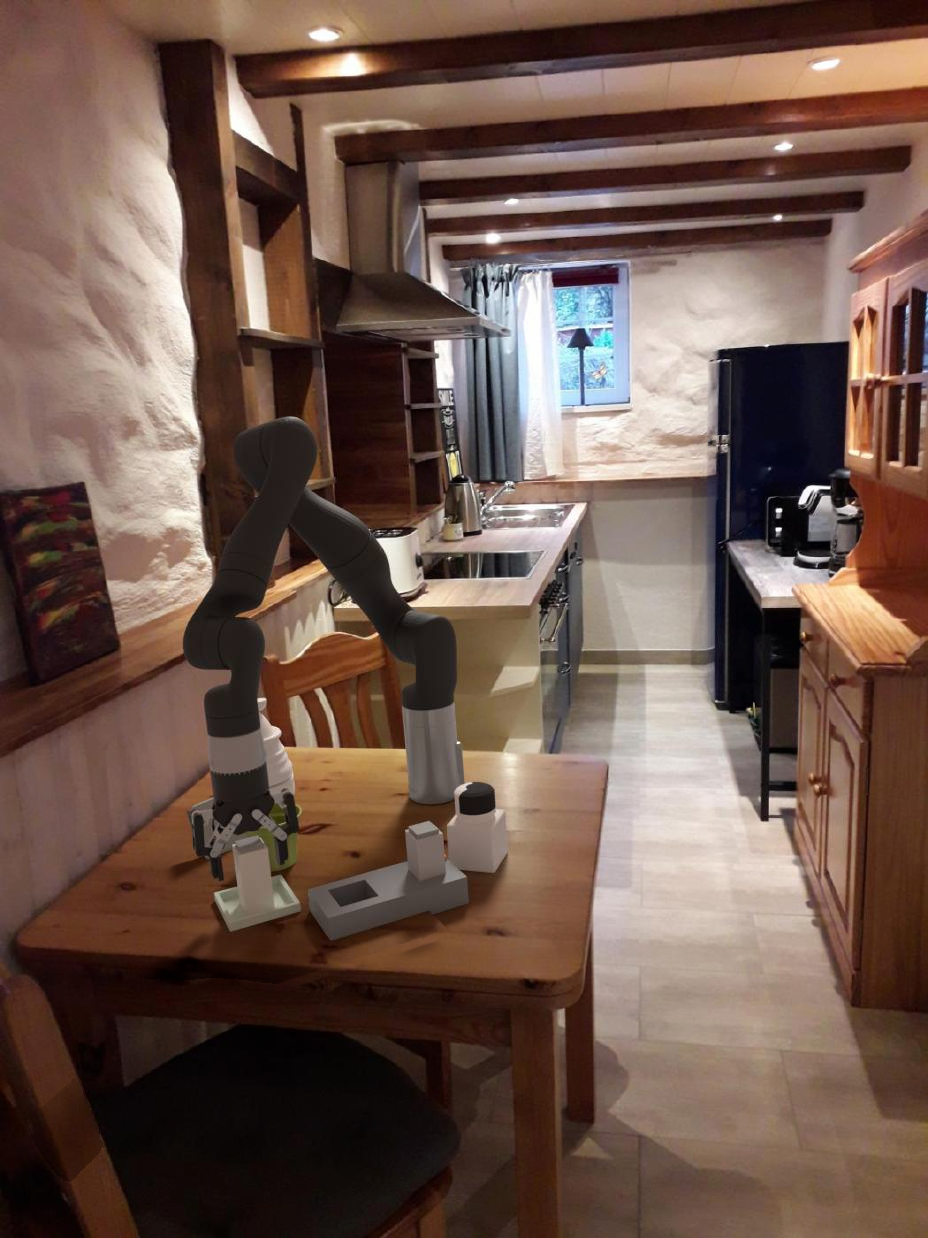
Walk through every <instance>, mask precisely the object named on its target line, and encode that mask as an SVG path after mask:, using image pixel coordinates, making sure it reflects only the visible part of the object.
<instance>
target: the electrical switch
mask: <svg viewBox="0 0 928 1238" xmlns="http://www.w3.org/2000/svg"><path fill="white" fill-rule="evenodd" d="M213 803H214V798H213V797H211V798H208V799H206V800H204V801H201V802H198V803H197V804H194V805H192V807H191V808H190V809H187V810H186V814H187V818H188V821H189V824H190V829H192V826H191V811H192V810H193V809H198V810H199V811H201V810H207V809H212V806H213ZM217 825H218V822H217V821H216V820H215V819H214V818H213V817H212V818H211V819H210V820H209V823H208V825H207V826H206V827H204V841H205V843H206V844H208V843H209V841H210V840H211V838H212V836H213V834H214V830H215V828H216V827H217ZM245 838H248V836H247V833H246V832H245V833H243V834H241V835H237V836H236V834H232V835H231V837H230V839H229V841H228V842H227V843H226V844H225V845H224V846H223V848H222V850H221V852H220V853H219V854H220V855H222V854H224V853H226V852H228V853H229V852H230V851H233V848H232V845H233V844H235V841H237V840H241V839H245ZM201 857H202V858H203V857H204V858H205V859H206V860H209V857H208V856H201ZM201 857H200V858H201Z"/></svg>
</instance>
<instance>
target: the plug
mask: <svg viewBox="0 0 928 1238" xmlns="http://www.w3.org/2000/svg"><path fill="white" fill-rule="evenodd" d="M232 848H233V850H232V852H233V853H232V855H233V862H234V869H235V876H236V884H237V886H238V894H239V901H240V905H241V907H242V909H243V910H244V912H245V914H246V916H248V915H251V914H255V913H258V912H262V911H265V910H269V909H272V908H275V904H274V896H273V888H272V880H271V877H272V871H270V863H269V855H268V848H267V846H266V845H265V844H264V842H263V841H262V839H261V838H259V836H258V835H257V836H253V837H249V838H245V839H241V840H237V841H235V844H233V845H232ZM237 886H236V887H237Z"/></svg>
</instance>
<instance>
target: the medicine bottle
mask: <svg viewBox="0 0 928 1238" xmlns="http://www.w3.org/2000/svg"><path fill="white" fill-rule="evenodd" d="M454 796H455V799H454V806H455V815H454V816H453V817H452V818H451V820H450V821H449V822H448V823H447V825H446V835H447V849H448V860H449V861H450V862H451V863H452V864H453V865H455V866H456V867H457V868H458V869H459V870H460V871H469V872H476V873H477V872H478V873H479V872H480V873H487V874H488V873H489V874H494V873H496V871H497V869H499V867H500V865H501V864H502V862H503V860H504V859H505V857H506V856H507V853H508V851H509V849H508V836H507V819H506V811H505V810H504V809H497V807H496V806H497V805H496V790H495V788H494V787H493V786H492V785H491V784H489V783H487V782H483V781H471V782H470V781H469V782H466V783H465V784H463V785H461V786H459V787H457V789H456V790H455V791H454Z"/></svg>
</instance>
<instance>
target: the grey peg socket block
mask: <svg viewBox="0 0 928 1238" xmlns="http://www.w3.org/2000/svg"><path fill="white" fill-rule="evenodd" d="M404 831H405V832H404V835H405V836H404V837H405V845H406V855H407V857H406V858H407V860H406V861H403V862H399V863H397V864H396V863H395V864H392V865H389V866H385V867H382V868H378V869H375V870H374V869H373V870H371V871H368V872H364V873H360V874H356V875H353V876H351V877H347V878H343V879H339V880H337V881H331V882H328V883H326V884H322V885H319V886H318V885H317V886H314V887H312V888H307V898H308V905H309V911H310V913H311V915H312V916H313V918H314V919H315V920H316V922H317V923H318V924H319V926H320V927H321V929H322V931H323V932H324V933H325V935H326V936H327V938H328V939H329V941H330V942H333V941H336V940H338V939H343V938H345V937H348V936H351V935H354V934H359V933H361V932H364V931H369V930H371V929H373V928H377V927H380V926H384V925H387V924H390V923H393V922H396V921H401V920H403V919H405V918H406V919H407V918H410V917H413V916H415V915H418V914H422V913H426V912H428V911H429V912H430V913H431V914H432V915H435V914H438V913H442V912H445V911H448V910H452V909H454V908H458V907H462V906H465V905H467V904H469V903H470V902H469V890H468V888H469V886H468V877H467V875H465V873H464V872H462V870H459V869H458V868H457V867H456V866H455V865H453V864H452V863H451V862H450V861H449V858H447V855H446V853H445V842H444V833H443V832H442V831H441V830H440V829H439V828H438V827H437V826H436V825H434V824H433V823H432V821H430V820H427V821H424V822H420V823H415V824H412V825H409V826H408V828H407V829H405V830H404Z"/></svg>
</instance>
